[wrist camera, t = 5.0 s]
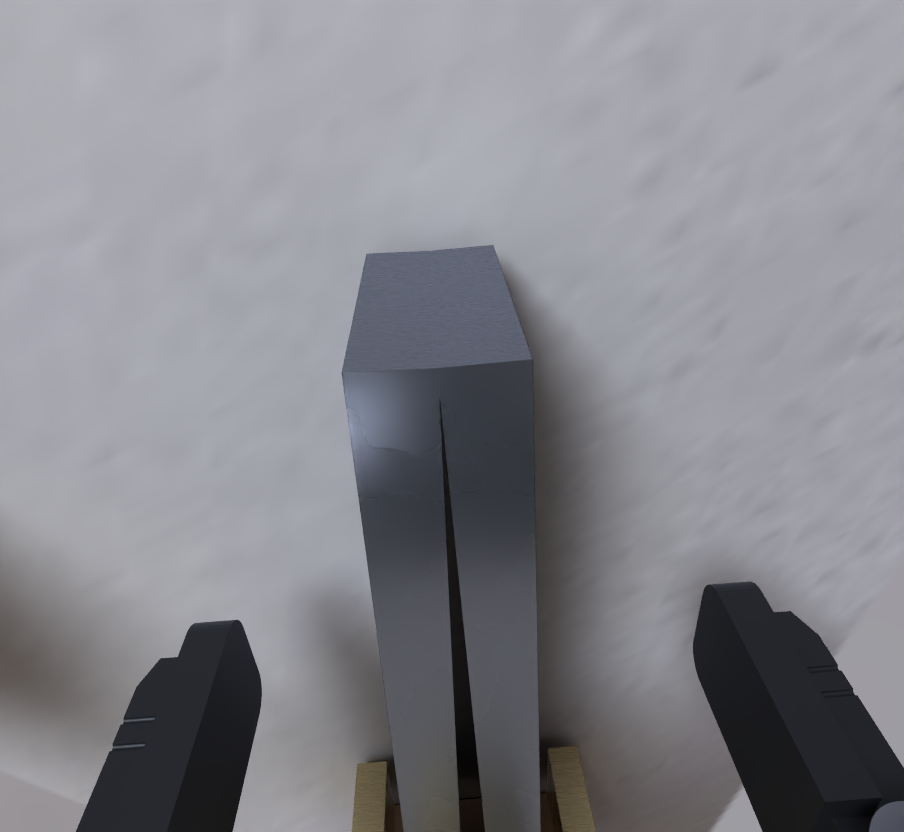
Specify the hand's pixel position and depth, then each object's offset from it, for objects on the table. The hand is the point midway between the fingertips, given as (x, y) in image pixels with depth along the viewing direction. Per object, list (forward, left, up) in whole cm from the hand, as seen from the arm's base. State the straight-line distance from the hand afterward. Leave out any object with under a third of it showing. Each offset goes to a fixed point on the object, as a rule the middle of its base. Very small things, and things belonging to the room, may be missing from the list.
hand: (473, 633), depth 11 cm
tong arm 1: (0, +2, -2) cm, 3 cm away
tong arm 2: (+1, +2, -2) cm, 3 cm away
